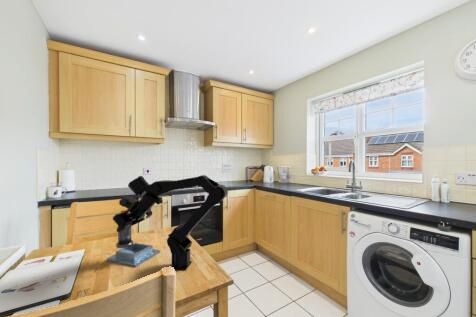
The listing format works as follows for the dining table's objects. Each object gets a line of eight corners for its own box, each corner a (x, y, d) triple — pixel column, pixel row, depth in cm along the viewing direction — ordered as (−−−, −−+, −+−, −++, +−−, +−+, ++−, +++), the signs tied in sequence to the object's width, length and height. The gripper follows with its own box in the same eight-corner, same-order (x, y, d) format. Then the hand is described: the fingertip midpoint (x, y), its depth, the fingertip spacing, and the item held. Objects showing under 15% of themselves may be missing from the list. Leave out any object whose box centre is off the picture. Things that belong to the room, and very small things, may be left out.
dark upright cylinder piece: (136, 242, 91) (136, 209, 91) (126, 248, 84) (126, 212, 85) (123, 241, 92) (123, 209, 92) (112, 247, 85) (112, 212, 86)
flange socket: (160, 252, 96) (160, 244, 96) (136, 266, 83) (136, 258, 83) (133, 247, 101) (133, 240, 101) (106, 260, 88) (107, 252, 88)
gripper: (146, 187, 97) (125, 210, 99) (117, 193, 79) (91, 221, 80) (161, 204, 96) (140, 227, 97) (135, 214, 77) (109, 243, 79)
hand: (122, 229), depth 88 cm, fingers closed on dark upright cylinder piece, 5 cm apart
